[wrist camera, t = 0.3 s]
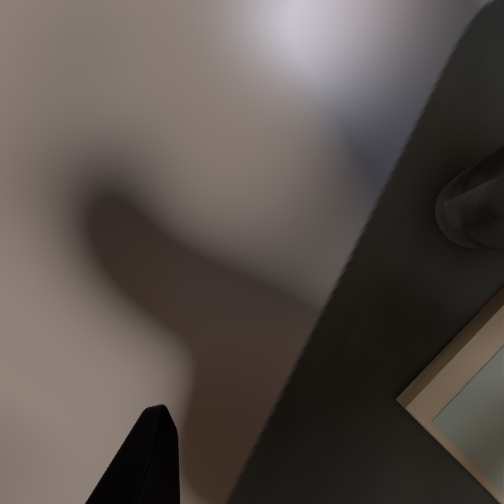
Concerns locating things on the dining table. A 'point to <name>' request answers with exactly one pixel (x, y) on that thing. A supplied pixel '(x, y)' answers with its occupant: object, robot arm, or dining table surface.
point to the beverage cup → (475, 204)
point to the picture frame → (467, 397)
